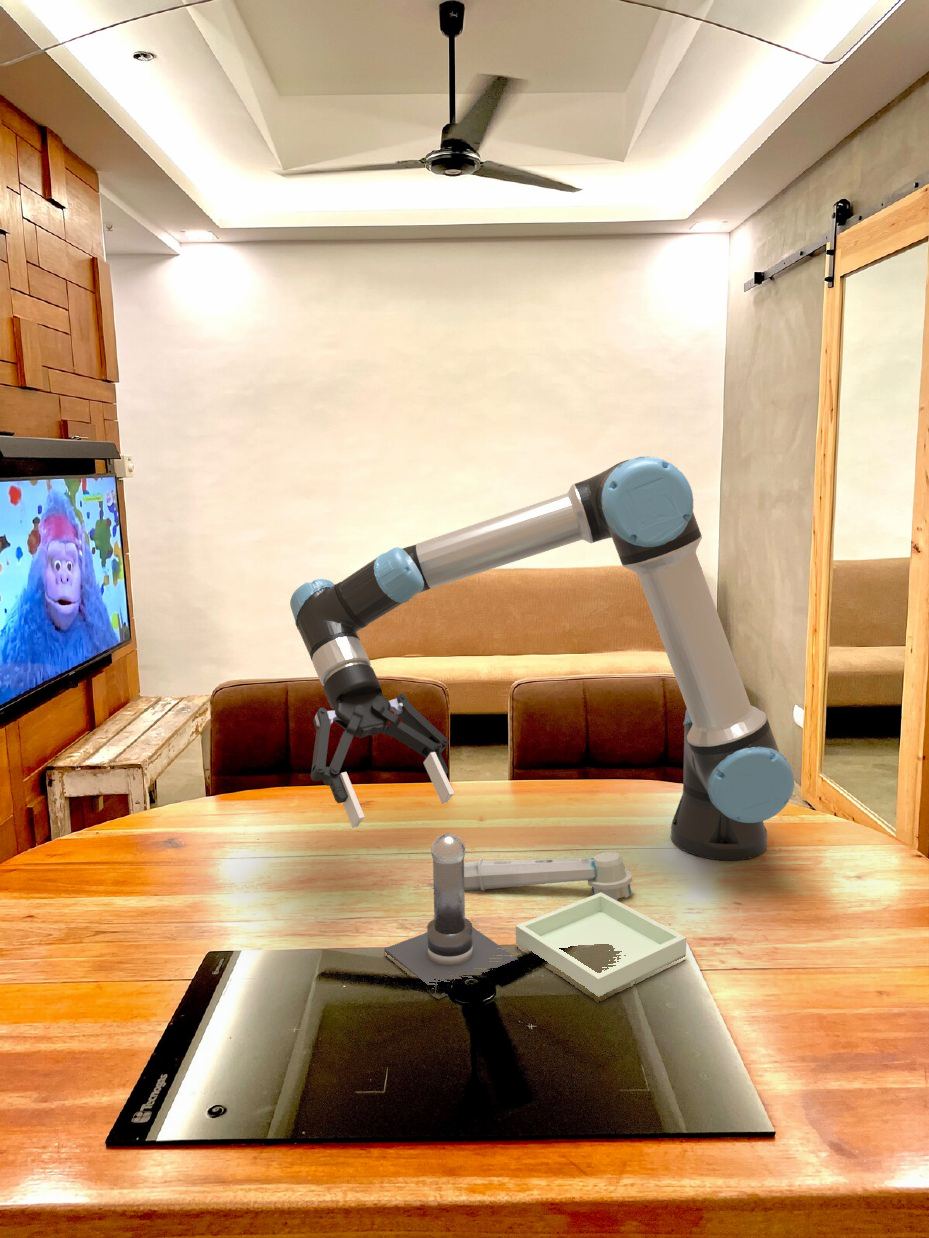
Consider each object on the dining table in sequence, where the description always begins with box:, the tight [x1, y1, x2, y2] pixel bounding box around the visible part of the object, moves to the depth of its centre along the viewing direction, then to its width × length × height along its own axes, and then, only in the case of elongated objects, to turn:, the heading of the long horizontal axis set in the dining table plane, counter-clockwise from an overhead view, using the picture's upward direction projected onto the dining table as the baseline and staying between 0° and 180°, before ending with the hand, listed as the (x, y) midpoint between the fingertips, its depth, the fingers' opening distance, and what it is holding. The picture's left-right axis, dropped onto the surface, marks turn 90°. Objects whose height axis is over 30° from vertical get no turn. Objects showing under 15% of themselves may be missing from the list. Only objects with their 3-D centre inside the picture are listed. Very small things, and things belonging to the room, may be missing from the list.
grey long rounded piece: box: [464, 852, 633, 902], centre depth 127 cm, size 5×7×25 cm
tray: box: [515, 892, 687, 997], centre depth 110 cm, size 15×15×3 cm
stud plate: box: [384, 926, 519, 989], centre depth 109 cm, size 12×12×2 cm
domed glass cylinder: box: [426, 832, 473, 957], centre depth 108 cm, size 6×6×14 cm
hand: (405, 810), depth 114 cm, fingers open, 13 cm apart
